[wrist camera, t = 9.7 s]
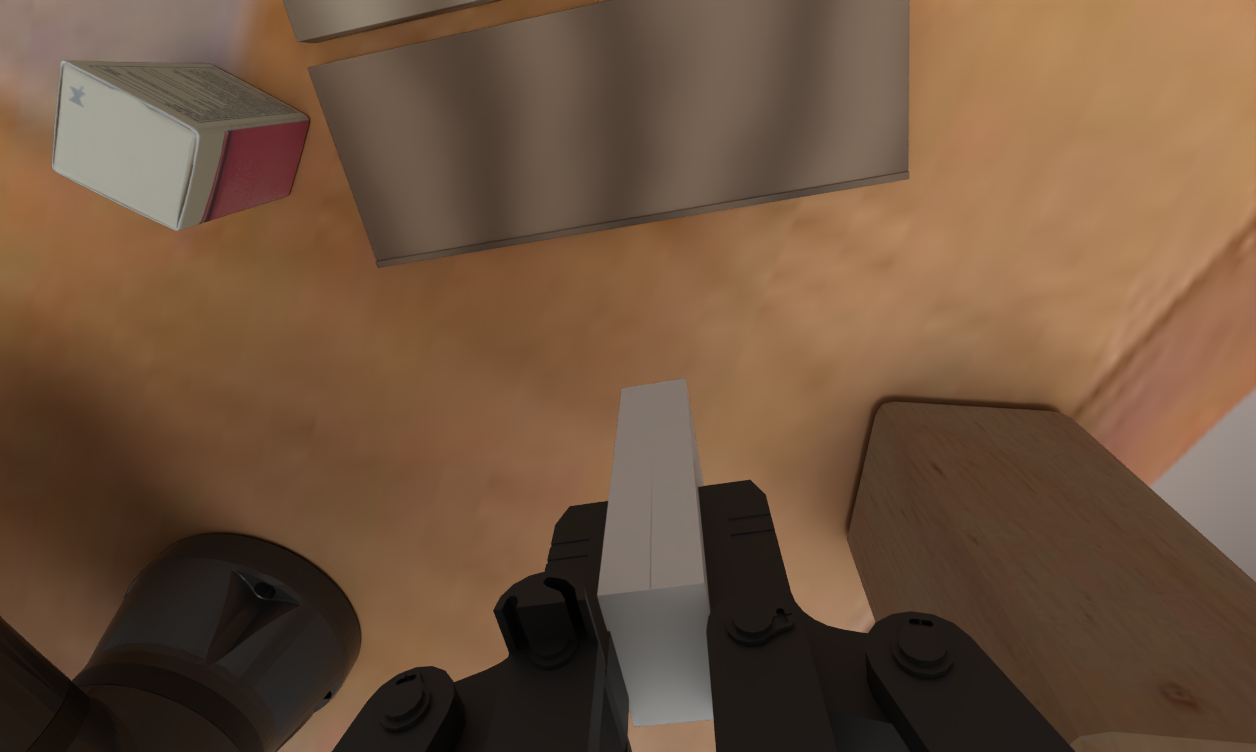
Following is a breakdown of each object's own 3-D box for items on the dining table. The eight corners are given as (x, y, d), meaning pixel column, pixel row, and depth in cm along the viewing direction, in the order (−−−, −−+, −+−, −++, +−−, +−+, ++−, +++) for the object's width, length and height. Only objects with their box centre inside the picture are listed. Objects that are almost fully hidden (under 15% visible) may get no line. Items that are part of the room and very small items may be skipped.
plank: (389, 260, 32) (377, 267, 31) (321, 67, 28) (305, 67, 27) (899, 174, 29) (909, 178, 27) (900, -61, 25) (911, -67, 24)
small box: (192, 147, 31) (44, 170, 24) (209, 60, 29) (55, 56, 22) (291, 199, 31) (177, 236, 24) (314, 117, 30) (198, 131, 22)
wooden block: (873, 392, 33) (1095, 766, 15) (1069, 404, 33) (1535, 806, 15) (840, 541, 38) (982, 966, 20) (1012, 553, 37) (1320, 1004, 19)
